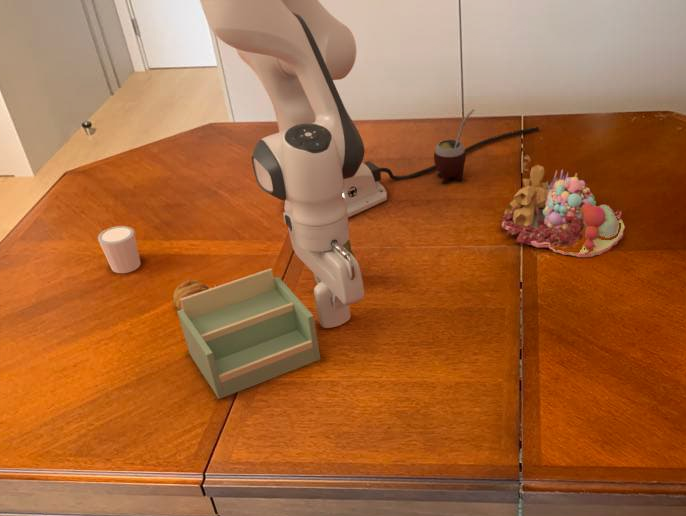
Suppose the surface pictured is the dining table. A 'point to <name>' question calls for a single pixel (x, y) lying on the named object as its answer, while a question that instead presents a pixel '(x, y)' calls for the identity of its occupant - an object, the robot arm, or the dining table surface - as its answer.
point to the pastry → (187, 291)
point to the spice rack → (248, 332)
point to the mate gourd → (451, 157)
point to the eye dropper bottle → (329, 308)
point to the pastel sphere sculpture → (560, 215)
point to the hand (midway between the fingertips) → (331, 299)
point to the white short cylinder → (120, 248)
